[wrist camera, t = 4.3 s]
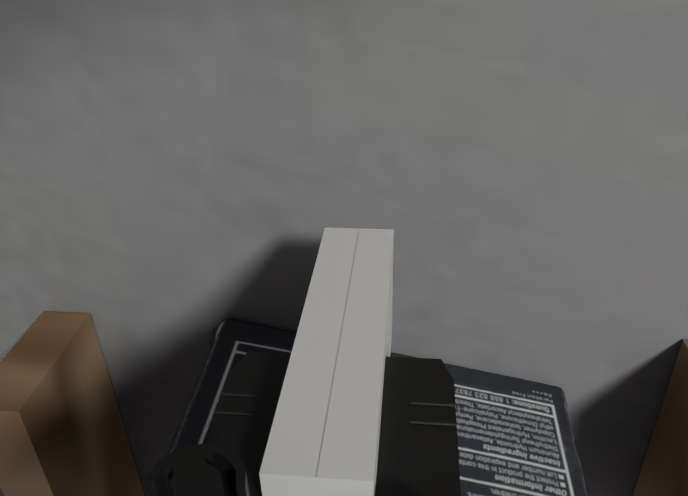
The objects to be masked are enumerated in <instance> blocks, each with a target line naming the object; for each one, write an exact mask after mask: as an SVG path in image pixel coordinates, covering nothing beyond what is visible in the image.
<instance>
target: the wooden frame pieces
mask: <svg viewBox="0 0 688 496" xmlns="http://www.w3.org/2000/svg"><path fill="white" fill-rule="evenodd" d="M0 488H1V490H2V492H3V494H4V496H145V494H144V491H143V488H142V484H141V481H140V478H139V474H138V471H137V468H136V464H135V461H134V457H133V454H132V451H131V447H130V444H129V441H128V437H127V434H126V431H125V427H124V424H123V421H122V417H121V414H120V411H119V407H118V404H117V401H116V397H115V394H114V390H113V387H112V384H111V380H110V377H109V374H108V370H107V367H106V364H105V360H104V357H103V354H102V350H101V347H100V344H99V340H98V337H97V333H96V330H95V327H94V323H93V320H92V317H91V314H90V313H67V312H45V311H44V312H43V313H42V314H41V315H40V316H39V318H38V319H37V320H36V321H35V322H34V324H33V325H32V326H31V327H30V328H29V330H28V331H27V332H26V333H25V334H24V335H23V337H22V338H21V339H20V340H19V341H18V343H17V344H16V345H15V346H14V347H13V349H12V350H11V351H10V352H9V353H8V355H7V356H6V357H5V358H4V359H3V361H2V362H1V363H0ZM633 496H688V340H683V341H682V344H681V347H680V350H679V353H678V356H677V360H676V363H675V366H674V369H673V372H672V375H671V378H670V381H669V384H668V388H667V391H666V394H665V397H664V400H663V403H662V406H661V409H660V412H659V416H658V419H657V422H656V425H655V428H654V431H653V434H652V437H651V440H650V444H649V447H648V450H647V453H646V456H645V459H644V462H643V465H642V469H641V472H640V475H639V478H638V481H637V484H636V487H635V490H634V493H633Z"/></svg>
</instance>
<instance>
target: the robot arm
mask: <svg viewBox="0 0 688 496" xmlns="http://www.w3.org/2000/svg"><path fill="white" fill-rule="evenodd" d="M393 233H394V230H391V229H356V228H325V229H324V233H323V237H322V240H321V244H320V248H319V252H318V255H317V259H316V263H315V267H314V270H313V274H312V278H311V282H310V285H309V289H308V293H307V297H306V300H305V304H304V308H303V311H302V315H301V319H300V323H299V326H298V330H297V334H296V338H295V341H294V345H293V349H292V353H291V354H290V353H270V352H250V351H249V352H248V353H247V354H246V355H245V356H244V357H243V358H242V359H241V360H240V361H239V362H238V363H237V364H236V365H235V366H234V367H233V368H232V369H231V370H230V372H229V375H228V378H227V380H226V383H225V386H224V388H223V391H222V396H220V399H219V401H218V404H217V407H216V409H215V415H213V417H212V420H211V422H210V425H209V428H208V430H207V433H206V436H205V438H204V441H203V444H194V445H189V446H186V447H184V448H181V449H178V450H176V451H173V452H171V453H170V454H169V455H167V456H166V457H165V458H163V459H162V460H161V461H159V462H158V463H157V464H156V465H155V466H154V468H153V469H152V470H151V472H150V473H149V475H148V476H147V478H146V479H145V481H146V485H147V488H148V492H149V495H150V496H461V488H460V471H459V455H458V438H457V428H456V424H457V422H456V408H455V389H454V379H453V378H452V376H451V374H450V373H449V371H448V370H447V368H446V366H445V365H444V363H443V362H442V360H441V359H425V358H405V357H390V351H391V336H392V296H393Z"/></svg>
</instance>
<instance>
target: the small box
mask: <svg viewBox="0 0 688 496" xmlns="http://www.w3.org/2000/svg"><path fill="white" fill-rule="evenodd" d="M296 334H297V333H294V332H289V331H284V330H277V329H273V328H269V327H263V326H260V325H254V324H249V323H244V322H239V321H234V320H230V319H226V320H224V321H223V322H221V323H220V324H219V325H218V326H217V327H216V328H215V329H213V333H212V336H211V341H210V345H211V347H210V351H209V354H208V356H207V359H206V361H205V363H204V366H203V369H202V371H201V374H200V376H199V379H198V381H197V383H196V386H195V388H194V391H193V393H192V396H191V399H190V401H189V403H188V405H187V407H186V410H185V412H184V414H183V417H182V419H181V421H180V424H179V426H178V428H177V431H176V433H175V435H174V437H173V440H172V442H171V445H170V448H169V450H168V453H167V455H169V454H170V453H171V452H173V451H176V450H178V449H181V448H184V447H186V446H189V445H194V444H203V441H204V438H205V436H206V433H207V430H208V428H209V425H210V422H211V420H212V417H213V415H215V409H216V407H217V404H218V401H219V399H220V396H222V391H223V388H224V386H225V383H226V380H227V378H228V375H229V372H230V370H231V369H232V368H233V367H234V366H235V365H236V364H237V363H238V362H239V361H240V360H241V359H242V358H243V357H244V356H245V355H246V354H247V353H248V352H249V351H250V352H270V353H290V354H291V353H292V349H293V345H294V341H295V338H296ZM390 357H405V358H415V357H410V356H406V355H401V354H395V353H390ZM444 365H445V366H446V368H447V370H448V371H449V373H450V374H451V376H452V378H453V379H454V389H455V408H456V422H457V424H456V428H457V438H458V455H459V471H460V488H461V496H588V495H587V492H586V488H585V482H584V476H583V473H582V468H581V464H580V460H579V457H578V455H577V451H576V447H575V444H574V442H573V441H574V437H573V434H572V431H571V425H570V422H569V418H568V413H567V403H566V399H565V394H564V391H563V390H562V389H561V388H559V387H556V386H551V385H546V384H542V383H537V382H532V381H527V380H523V379H519V378H513V377H509V376H503V375H499V374H493V373H488V372H483V371H479V370H474V369H468V368H464V367H459V366H455V365H449V364H444ZM167 455H166V456H167Z"/></svg>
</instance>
